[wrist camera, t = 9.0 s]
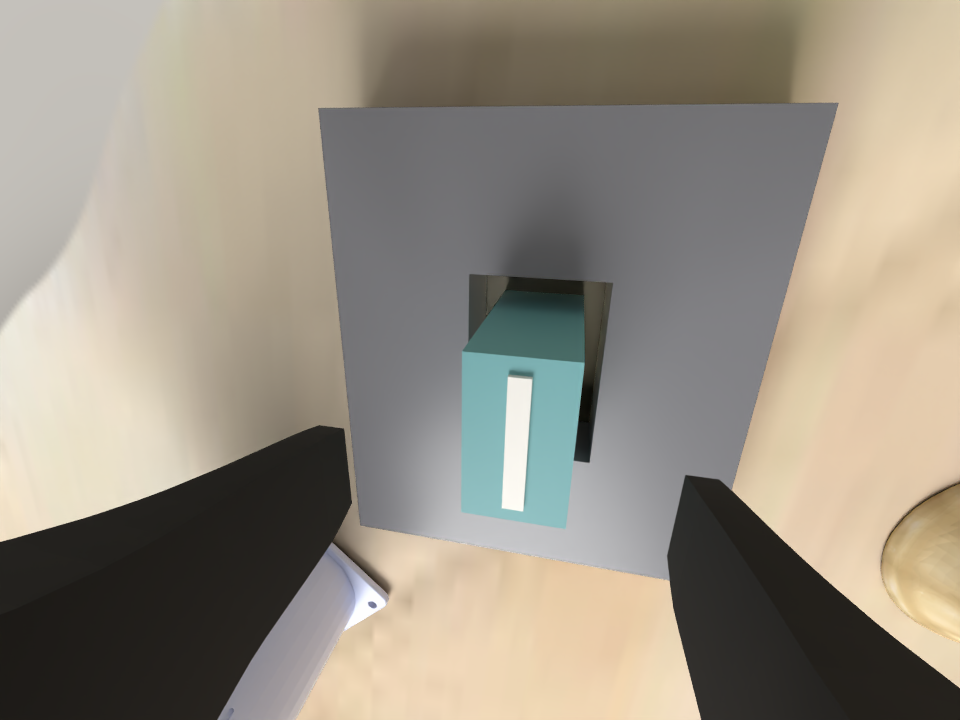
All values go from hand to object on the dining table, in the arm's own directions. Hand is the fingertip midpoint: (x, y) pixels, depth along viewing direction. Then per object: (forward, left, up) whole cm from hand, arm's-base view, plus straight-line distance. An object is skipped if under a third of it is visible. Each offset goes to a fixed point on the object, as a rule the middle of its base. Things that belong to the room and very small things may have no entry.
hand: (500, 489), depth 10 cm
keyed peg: (0, 0, -9) cm, 9 cm away
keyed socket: (0, 0, -9) cm, 9 cm away
